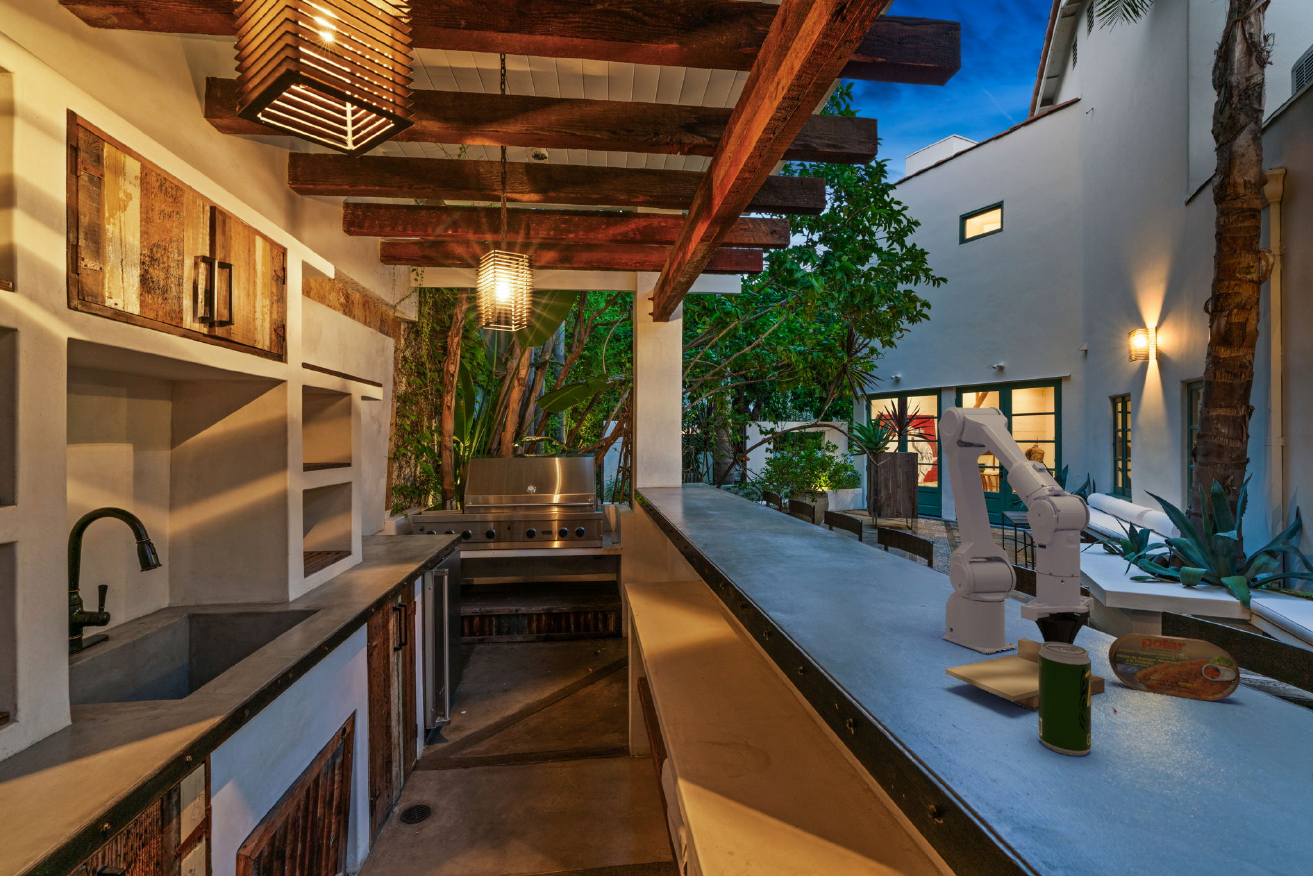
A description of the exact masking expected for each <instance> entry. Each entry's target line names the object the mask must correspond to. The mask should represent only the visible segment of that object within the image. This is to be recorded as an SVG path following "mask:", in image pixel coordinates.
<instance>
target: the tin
mask: <svg viewBox="0 0 1313 876" xmlns="http://www.w3.org/2000/svg"><path fill="white" fill-rule="evenodd" d="M1108 661H1109V665H1110V668H1111V670H1112V672H1113V673H1114V675H1115V677H1116V678H1118V680H1120V682H1121V683H1122V684H1124V685H1125V686H1126V687H1129V688H1130V689H1133V690H1136V691H1138V690H1139V691H1138V692H1143V693H1149V692H1153V693H1152V694H1156V693H1157V694H1156V695H1163V694H1166V696H1171V695H1173V696H1172V697H1177V696H1178V697H1179V698H1184V699H1191V700H1198V701H1199V700H1200V701H1208V702H1214V701H1220V700H1223V699H1225V698H1228V697H1229V696H1231V695H1232V694H1233V693H1235V692H1236V690H1237V689H1238V687H1239V685H1240V683H1241V682H1240V681H1241V671H1240V669H1239V665H1238V663H1237V662H1236V659H1234V658H1233V656H1231V654H1230V653H1229V652H1228V651H1226V650H1225V649H1223V648H1221V647H1220V646H1218V645H1216V644H1213V643H1212V642H1211V643H1210V642H1209V641H1206V640H1203V639H1197V638H1187V637H1178V636H1177V637H1176V636H1170V635H1169V636H1167V635H1160V634H1159V635H1158V634H1147V633H1141V632H1140V633H1139V632H1132V633H1125V634H1122V635H1121V636H1119V637H1117V638H1115V640H1114V641H1113V642H1112V643H1111V645H1110V646H1109V649H1108ZM1219 677H1220V678H1219ZM1232 681H1233V682H1232ZM1237 683H1238V684H1237ZM1178 697H1177V698H1178Z"/></svg>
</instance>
